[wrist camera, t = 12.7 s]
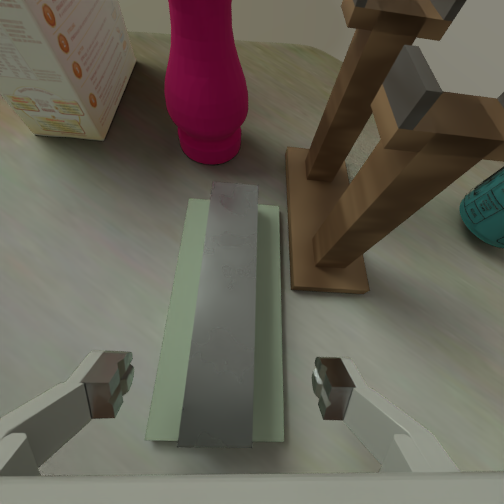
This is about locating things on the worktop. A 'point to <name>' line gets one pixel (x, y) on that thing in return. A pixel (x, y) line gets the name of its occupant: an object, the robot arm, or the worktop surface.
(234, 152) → the pepper mill
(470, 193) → the beverage bottle
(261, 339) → the mat
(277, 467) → the worktop surface
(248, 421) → the rail
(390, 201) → the stand
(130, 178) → the worktop surface
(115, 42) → the coffeecake box
